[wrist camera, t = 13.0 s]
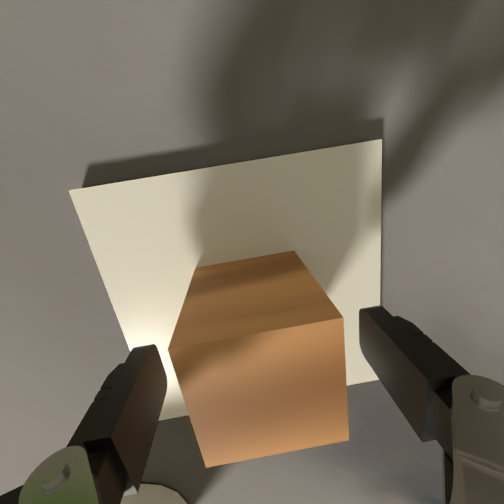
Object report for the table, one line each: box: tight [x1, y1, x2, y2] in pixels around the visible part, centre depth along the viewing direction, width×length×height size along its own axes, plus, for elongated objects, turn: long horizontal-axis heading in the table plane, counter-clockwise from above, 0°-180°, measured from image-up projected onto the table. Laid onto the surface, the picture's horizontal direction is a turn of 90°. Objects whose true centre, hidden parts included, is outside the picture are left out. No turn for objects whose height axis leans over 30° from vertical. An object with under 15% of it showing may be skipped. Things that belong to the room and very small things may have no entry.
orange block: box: [168, 251, 349, 468], centre depth 11 cm, size 5×5×6 cm
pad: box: [69, 139, 382, 421], centre depth 14 cm, size 14×14×1 cm
